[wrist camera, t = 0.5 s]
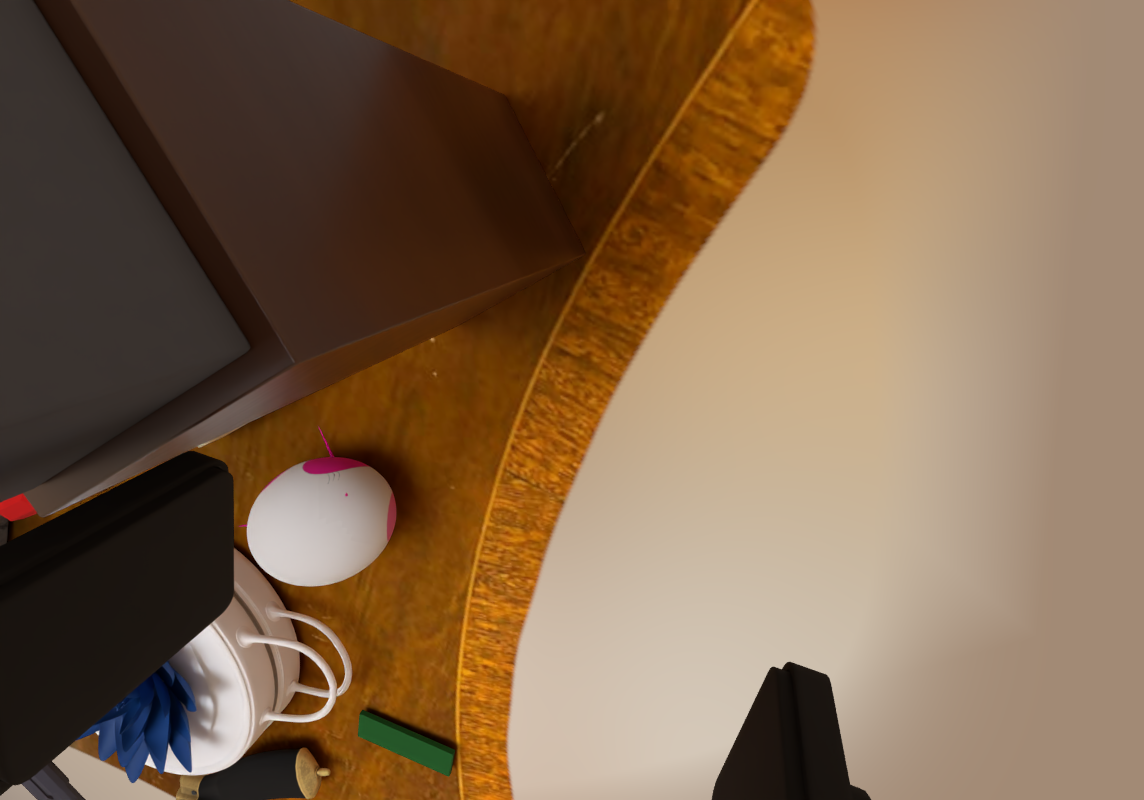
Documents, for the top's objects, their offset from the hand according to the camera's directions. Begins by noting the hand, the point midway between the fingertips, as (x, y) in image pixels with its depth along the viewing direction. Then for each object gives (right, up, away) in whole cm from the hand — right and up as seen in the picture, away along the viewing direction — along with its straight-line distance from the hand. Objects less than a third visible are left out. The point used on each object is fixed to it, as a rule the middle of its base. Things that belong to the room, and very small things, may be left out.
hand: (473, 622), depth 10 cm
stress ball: (-10, -1, +22) cm, 25 cm away
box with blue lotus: (-20, -11, +28) cm, 36 cm away
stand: (-2, +11, +16) cm, 20 cm away
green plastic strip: (-8, -16, +26) cm, 32 cm away
